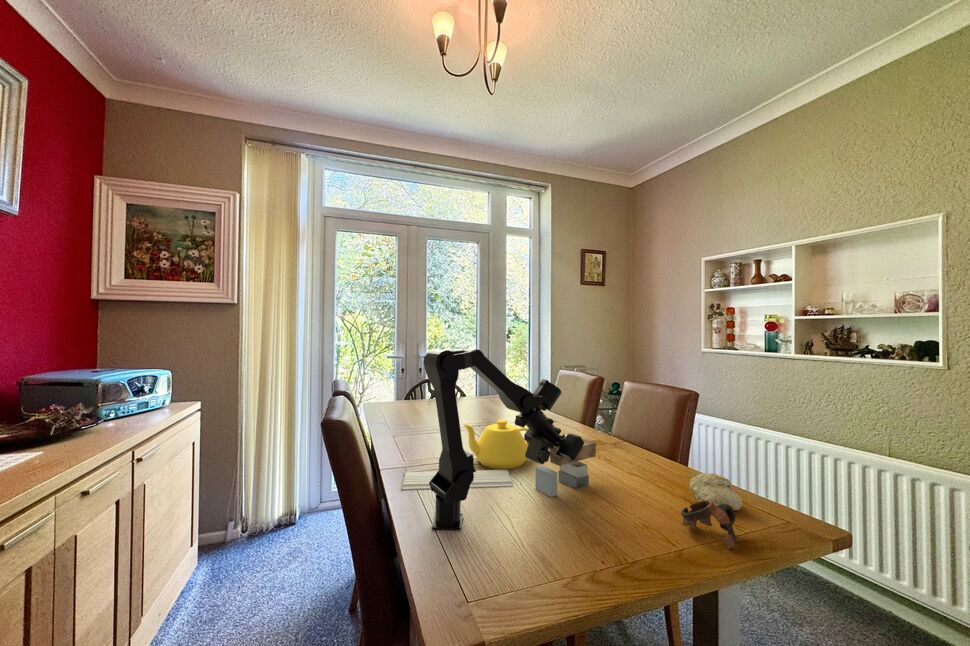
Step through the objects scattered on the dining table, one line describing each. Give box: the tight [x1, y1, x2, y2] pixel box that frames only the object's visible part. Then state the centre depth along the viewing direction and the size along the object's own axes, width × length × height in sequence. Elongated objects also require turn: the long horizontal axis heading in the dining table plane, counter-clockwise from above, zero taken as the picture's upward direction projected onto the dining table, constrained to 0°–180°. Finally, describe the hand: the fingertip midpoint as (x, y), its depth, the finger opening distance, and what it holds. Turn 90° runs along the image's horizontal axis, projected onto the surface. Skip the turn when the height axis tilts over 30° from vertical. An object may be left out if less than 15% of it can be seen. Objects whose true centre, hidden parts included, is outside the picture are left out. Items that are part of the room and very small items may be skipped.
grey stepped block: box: [558, 461, 590, 491], centre depth 107 cm, size 5×7×6 cm
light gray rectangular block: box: [535, 465, 558, 498], centre depth 101 cm, size 2×6×6 cm, turn 34°
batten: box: [549, 439, 597, 467], centre depth 107 cm, size 15×4×4 cm, turn 124°
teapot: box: [462, 419, 529, 470], centre depth 124 cm, size 25×18×14 cm
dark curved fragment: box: [680, 500, 738, 550], centre depth 80 cm, size 12×9×8 cm
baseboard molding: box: [400, 469, 514, 491], centre depth 107 cm, size 31×3×12 cm
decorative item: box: [689, 472, 743, 511], centre depth 95 cm, size 12×9×10 cm
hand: (567, 457), depth 105 cm, fingers closed on batten, 4 cm apart
